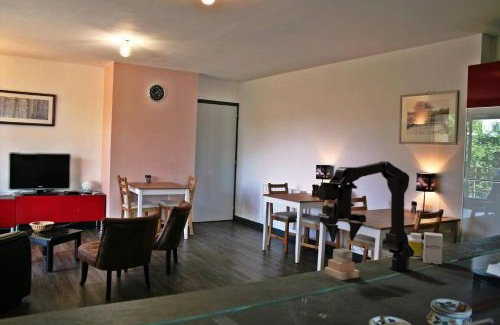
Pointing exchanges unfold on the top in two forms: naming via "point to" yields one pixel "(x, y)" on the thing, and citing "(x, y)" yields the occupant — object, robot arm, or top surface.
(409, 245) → the robot arm
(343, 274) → the birch block
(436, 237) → the supplement box
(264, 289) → the top surface
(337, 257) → the sage block
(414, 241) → the pill bottle
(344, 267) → the terracotta block
